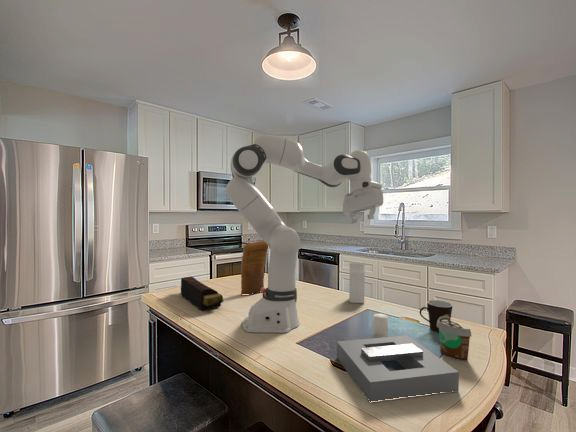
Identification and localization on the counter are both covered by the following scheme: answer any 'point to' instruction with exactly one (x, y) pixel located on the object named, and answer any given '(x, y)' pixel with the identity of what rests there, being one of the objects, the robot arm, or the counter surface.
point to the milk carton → (357, 283)
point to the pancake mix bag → (253, 267)
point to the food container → (453, 339)
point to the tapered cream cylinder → (380, 326)
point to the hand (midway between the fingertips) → (362, 221)
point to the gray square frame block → (393, 384)
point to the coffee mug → (437, 312)
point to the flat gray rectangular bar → (391, 352)
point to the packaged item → (200, 294)
